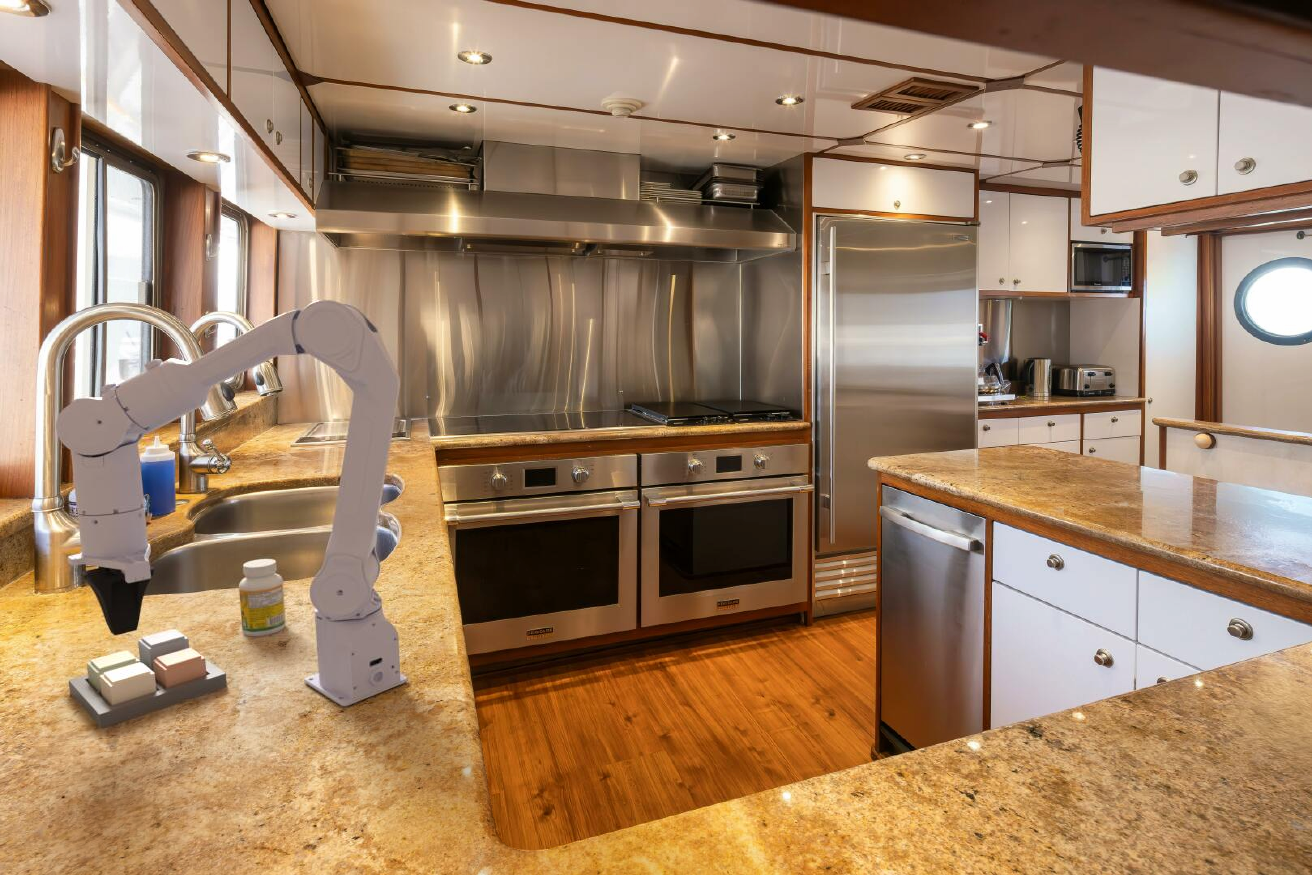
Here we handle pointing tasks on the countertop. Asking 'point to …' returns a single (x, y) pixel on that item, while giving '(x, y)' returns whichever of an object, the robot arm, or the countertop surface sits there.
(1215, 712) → the countertop surface
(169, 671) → the key terracotta
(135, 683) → the key cream
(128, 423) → the robot arm
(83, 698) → the keypad board
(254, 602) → the supplement bottle
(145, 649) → the key slate
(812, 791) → the countertop surface
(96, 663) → the key sage
